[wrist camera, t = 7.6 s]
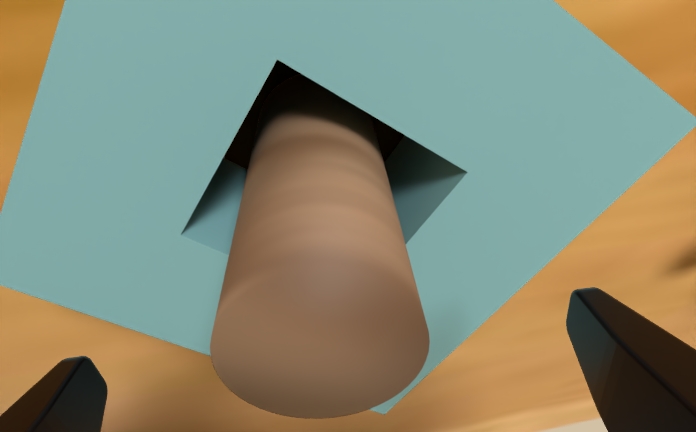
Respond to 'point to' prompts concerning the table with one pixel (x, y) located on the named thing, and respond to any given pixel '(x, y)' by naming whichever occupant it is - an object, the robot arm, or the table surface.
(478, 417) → the table surface
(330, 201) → the walnut dowel
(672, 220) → the table surface
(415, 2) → the socket block
